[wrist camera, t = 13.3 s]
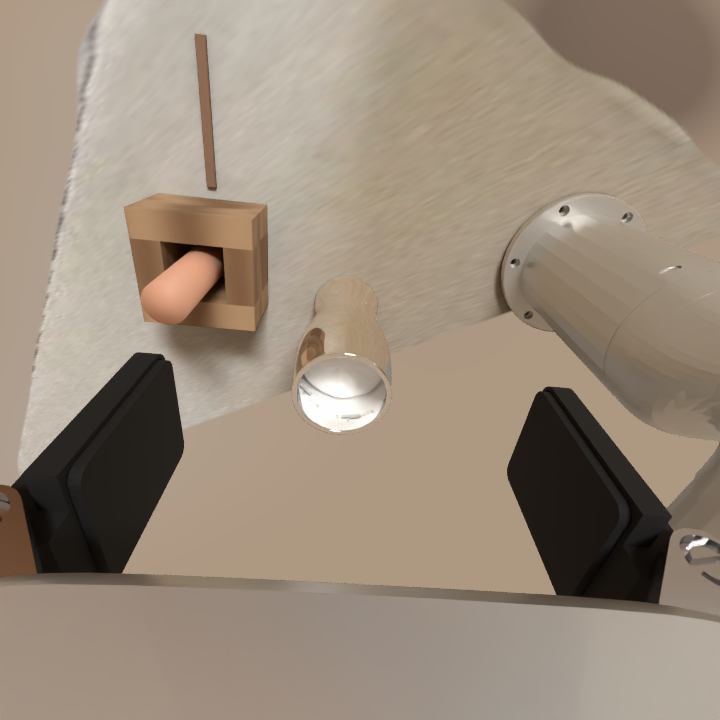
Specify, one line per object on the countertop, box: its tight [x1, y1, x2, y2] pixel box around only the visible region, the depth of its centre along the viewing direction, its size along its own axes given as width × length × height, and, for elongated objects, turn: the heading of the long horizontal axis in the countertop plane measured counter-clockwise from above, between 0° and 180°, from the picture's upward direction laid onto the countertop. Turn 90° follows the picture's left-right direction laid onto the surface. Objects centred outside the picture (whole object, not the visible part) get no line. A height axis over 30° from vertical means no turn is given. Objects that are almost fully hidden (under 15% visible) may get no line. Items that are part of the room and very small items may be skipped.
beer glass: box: [292, 276, 392, 435], centre depth 33 cm, size 7×7×15 cm
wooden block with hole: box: [124, 193, 268, 331], centre depth 34 cm, size 9×9×6 cm
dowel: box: [141, 245, 224, 325], centre depth 32 cm, size 3×3×12 cm
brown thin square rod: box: [195, 34, 217, 187], centre depth 31 cm, size 1×10×1 cm, turn 175°
